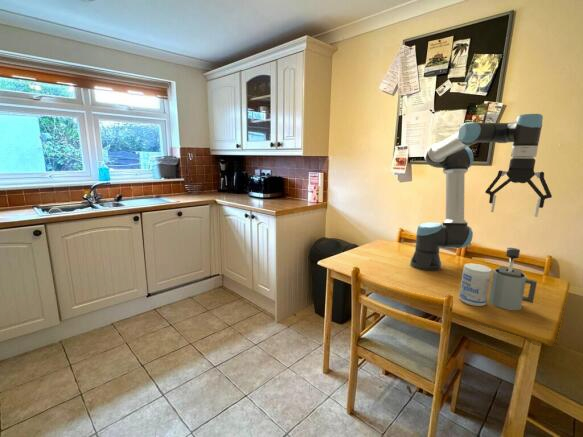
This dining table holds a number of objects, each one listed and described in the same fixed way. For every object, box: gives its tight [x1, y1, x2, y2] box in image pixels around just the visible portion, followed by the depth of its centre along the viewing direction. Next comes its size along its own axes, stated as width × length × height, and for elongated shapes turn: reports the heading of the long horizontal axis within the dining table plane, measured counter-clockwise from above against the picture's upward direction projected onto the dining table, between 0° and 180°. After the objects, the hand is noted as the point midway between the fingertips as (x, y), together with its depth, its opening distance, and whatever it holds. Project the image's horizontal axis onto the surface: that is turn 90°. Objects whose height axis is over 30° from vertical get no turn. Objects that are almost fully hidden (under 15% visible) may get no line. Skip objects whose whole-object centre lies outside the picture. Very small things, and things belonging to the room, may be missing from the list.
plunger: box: [505, 247, 521, 277], centre depth 116 cm, size 8×8×20 cm
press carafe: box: [488, 265, 538, 311], centre depth 116 cm, size 14×10×14 cm
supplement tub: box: [458, 262, 493, 307], centre depth 119 cm, size 10×10×15 cm
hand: (513, 213), depth 115 cm, fingers open, 13 cm apart
